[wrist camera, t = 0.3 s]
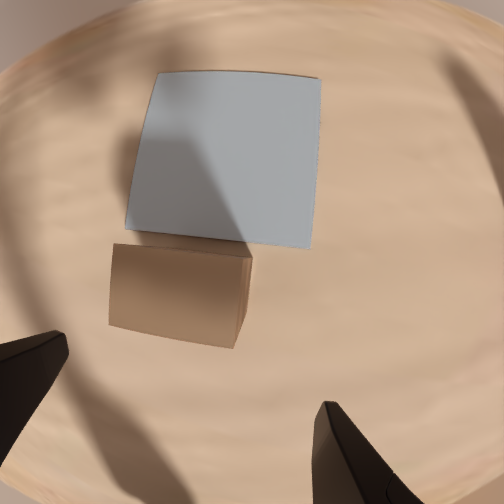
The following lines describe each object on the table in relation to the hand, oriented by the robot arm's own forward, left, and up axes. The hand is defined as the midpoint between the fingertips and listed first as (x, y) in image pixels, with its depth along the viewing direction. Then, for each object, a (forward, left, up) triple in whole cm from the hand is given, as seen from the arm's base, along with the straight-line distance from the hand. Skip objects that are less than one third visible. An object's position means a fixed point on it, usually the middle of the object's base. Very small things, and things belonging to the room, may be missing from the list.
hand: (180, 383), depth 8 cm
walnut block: (-1, +3, -16) cm, 16 cm away
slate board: (+8, +11, -16) cm, 21 cm away
